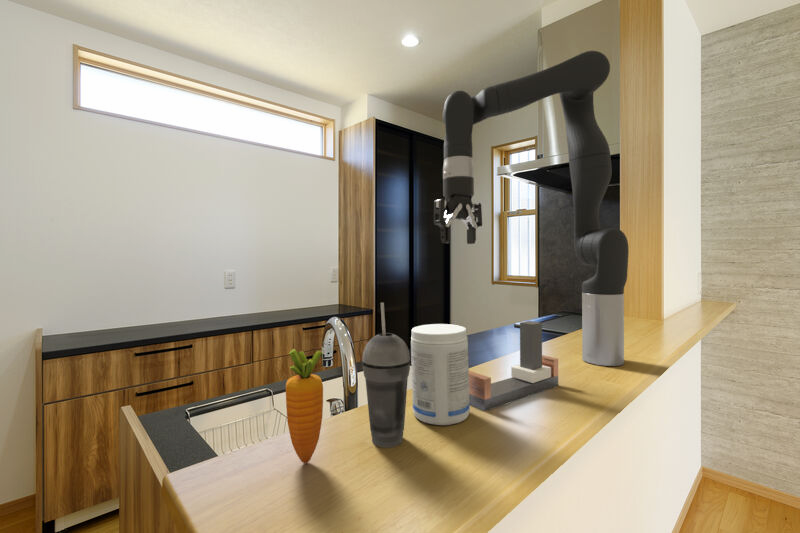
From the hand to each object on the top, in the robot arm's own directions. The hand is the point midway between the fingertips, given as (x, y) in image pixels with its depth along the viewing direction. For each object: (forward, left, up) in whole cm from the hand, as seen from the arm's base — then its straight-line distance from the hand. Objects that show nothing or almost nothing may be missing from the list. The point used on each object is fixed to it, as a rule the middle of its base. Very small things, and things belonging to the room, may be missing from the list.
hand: (458, 243), depth 93 cm
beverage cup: (+36, +22, -30) cm, 52 cm away
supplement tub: (+24, +20, -30) cm, 44 cm away
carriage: (+1, +21, -28) cm, 35 cm away
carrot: (+48, +21, -30) cm, 61 cm away
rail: (+6, +21, -30) cm, 37 cm away
